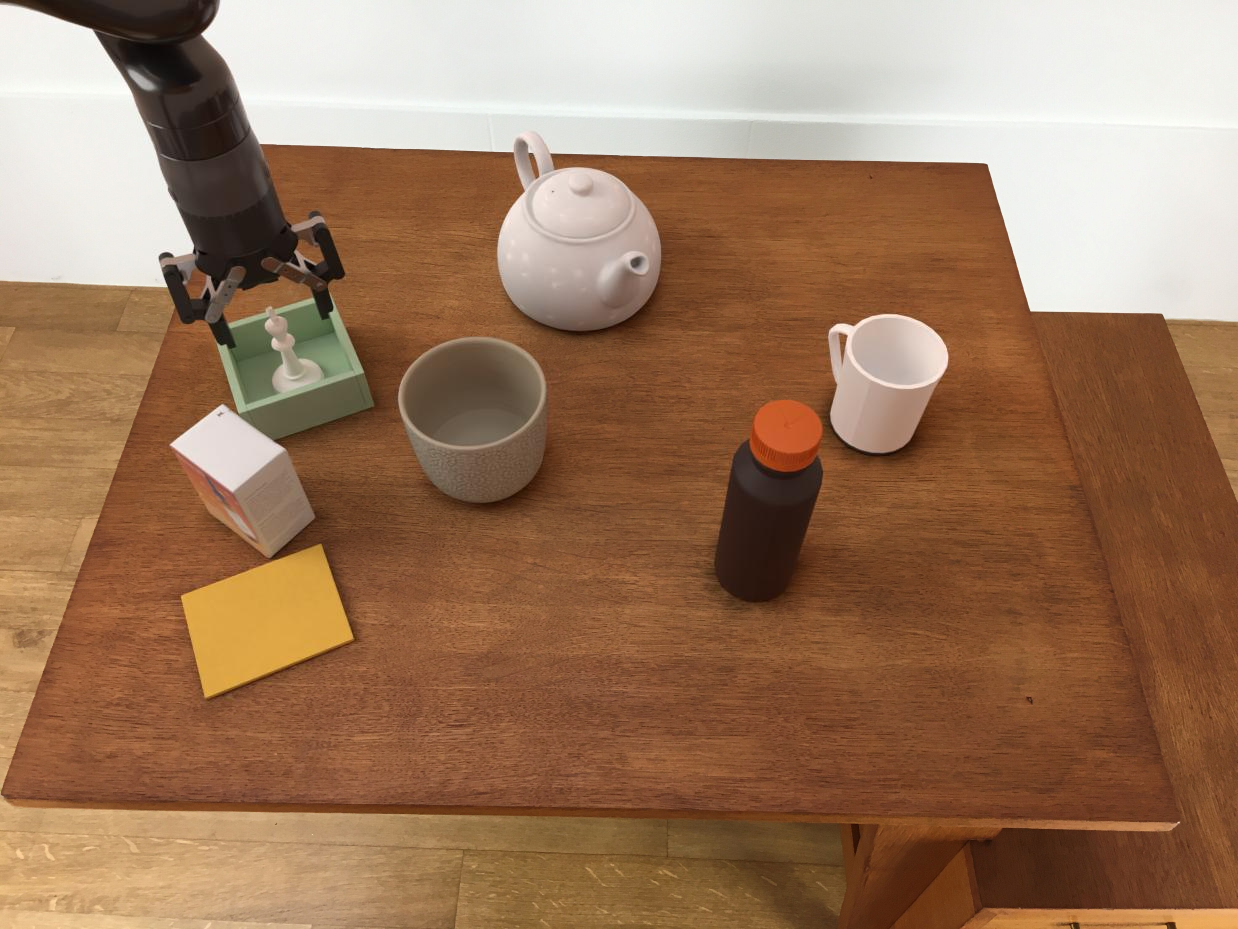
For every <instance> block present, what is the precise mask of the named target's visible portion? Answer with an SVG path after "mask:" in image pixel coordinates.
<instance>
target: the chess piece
mask: <svg viewBox="0 0 1238 929" xmlns="http://www.w3.org/2000/svg"><path fill="white" fill-rule="evenodd" d="M265 312H266V313H267V314H268V315H269V316H270V319H268V320H267V322H266V323H265V329H266V330H267V332H268V333H269V334H271V335H272V336H273V337H274V338H273V339H272V344H271V345H272V347H273V349H275V350H277V351H281V355H282V359H283V364H282V365H281V366H279V367H278V368H277V369H276V371H275V372H274V374H273V377H272V384H273V389H274V391H275V393H276V394H280V393H283V392H286V391H289V390H293V389H296V388H299V387H302V386H305V385H308V384H311V383H314V382H317V381H320V380H323V379H324V374H323V371H322V370H321V368H320V367H319V365H318V364H317V363H315V362H314V361H311V360H308V359H298V358H297V356H296V355H295V353H294V351H293V350H292V347H293V345H294V343H295V339H294V337H293V336H292V335H290V334H288V333H287V327H288V323H287V320H286V319H285V318H283V317H280V316H277V315H276V314H275V312H274V307H272V306H271V305H270V306H268V307H266V308H265Z"/></svg>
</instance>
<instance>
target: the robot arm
mask: <svg viewBox="0 0 1238 929" xmlns="http://www.w3.org/2000/svg"><path fill="white" fill-rule="evenodd" d="M220 5H221V0H0V6H9V7H15V8H21V9H25V10H29V11H33V12H36V13H40V14H43V15H46V16H49V17H52V18H55V19H58V20H59V21H64V22H67V23H70V24H72V25H77V26H80V27H83V28H86V29H89V30H92V31H93V33H94V35H95V36H96V39H97V40H98V41H99V43H100V45H101V46H102V48H103V49H104V51H105V52H106V54H107V56H108V57H109V59H110V61H112V63H113V64H114V66H115V68H116V69H117V71H118V72H119V73H120V75H121V77H122V78H123V80H124V82H125V83H126V85H127V87H128V88H129V91H130V92H131V94H132V98H133V101H134V104H135V107H136V109H137V111H138V113H139V116H140V118H141V120H142V122H143V125H144V127H145V130H146V132H147V134H148V136H149V138H150V140H151V143H152V145H153V148H154V151H155V154H156V157H157V161H158V165H159V168H160V171H161V172H160V173H161V174H162V177H163V180H164V182H165V183H166V186H167V192H168V195H169V196H170V197H171V199H172V200H173V202H174V204H175V206H176V208H177V211H178V213H179V215H180V217H181V220H182V222H183V224H184V226H185V228H186V229H185V230H186V231H187V233H188V235H189V237H190V240H191V242H192V245H193V249H192V252H191V253H187V254H182V255H179V256H175V255H174V254H173V253H171V252H170V251H164V252H161V253H160V254H159V255H158V263H159V266H160V269H161V273H162V276H163V280H164V282H165V284H166V287H167V289H168V292H169V295H170V297H171V300H172V302H173V304H174V307H175V310H176V312H177V314H178V316H179V320H180V321H181V323H182V324H184V325H191V324H194V323H195V322H196V321H204V322H206V323H207V324H208V328H210V331H211V333H212V335H213V337H214V340H215V339H216V340H215V343H216V342H217V343H218V344H219V345H221V346H222V345H227V347H228V349H232V348H235V347H236V344H235V341H234V338H233V335H232V332H231V330H230V327H229V325H228V323H229V322H228V321H227V318H226V316H225V314H224V311H225V308H226V306H229V305H230V304H231V302H232V299H233V297H234V295H235V294H236V291H237V290H238V289H239V290H240V289H241V290H242V292H245V291H248V290H252V289H254V288H255V287H257V286H259V285H265V284H272V283H276V282H279V281H280V280H279V278H280V277H284V278H286V279H287V280H290V281H291V282H293V283H295V284H296V285H297V284H298V285H301V284H303V285H305V286H306V287H308V288H309V289H310V291H311V296H312V298H314V301H315V304H316V307H317V309H318V312H319V314H320V317H321V319H322V321H323V320H326V319H329V315H328V313H330V312H333V308H334V306H333V303H332V300H331V297H330V293H331V292H330V291H329V284H330V283H331V282H332V281H333V280H335V281H340V280H342V279H344V277H345V276H346V272H345V269H344V266H343V264H342V260H341V258H340V255H339V253H338V250H337V248H336V245H335V242H334V239H333V237H332V234H331V232H330V229H329V227H328V225H327V223H326V221H325V218H324V216H323V214H322V212H321V211H319V210H312V211H311V212H309V213H308V215H307V219H308V220H305V221H304V220H303V221H302V222H298V223H295V224H291V223H290V222H289V221H287V219H286V217H285V214H284V211H283V208H282V205H281V202H280V199H279V195H278V193H277V191H276V188H275V184H274V181H273V179H272V175H271V168H270V165H269V164H268V161H267V160H266V158H265V155H264V152H263V148H262V147H261V143H260V142H259V140H258V137H257V135H256V134H255V132H254V130H253V128H252V126H251V124H250V120H249V117H248V114H247V112H246V108H245V106H244V103H243V100H242V97H241V94H240V91H239V88H238V86H237V83H236V82H237V81H236V80H235V77H234V75H233V73H232V71H231V69H230V67H229V65H228V63H227V62H226V60H225V59H224V57H223V56H222V55H221V54H220V52H219V51H218V50H216V48H215V47H214V46H213V45H211V43H210V42H209V41H208V40H207V39H206V38H205V37H204V35H203V33H204V32H206V31H207V30H208V28H209V27H210V26H211V25H212V24H213V22H214V21H215V20H216V17H217V15H218V13H219V10H220ZM300 240H301V241H302V240H304V241H306V242H307V244H308V245H310V246H311V247H314V248H319V250H320V252H321V254H322V257H323V260H321V261H320V262H318V263H316V262H314V261H312V260H310V259H309V258H307V257H305V256H304V255H302V254H301V252H300V251H298V250H297V247H298V245H299V241H300ZM194 270H198V271H199V272H201V273H202V274H204V275H206V277H205V278H206V279H205V286H204V287H203V290H202V292H201V294H200V296H199V298H191V296H190V295H189V291H188V289H187V287H186V286H187V285H189V282H190V281H191V280H192V273H193V272H194ZM217 343H216V344H217Z"/></svg>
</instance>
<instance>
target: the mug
mask: <svg viewBox="0 0 1238 929" xmlns="http://www.w3.org/2000/svg"><path fill="white" fill-rule="evenodd" d="M840 334H843V335H846V336H847V338H846V341H845V348H844V354H843V360H842V354H841V353H842V352H841V342H840ZM827 340H828V341H827V342H828V346H829V348H828V349H829V356H830V364H831V370H832V375H833V378H834V381H835V383H836V388H835V393H834V395H833V401H832V404H831V407H830V412H829V423H830V426H831V428H832V430H833V433H834V434H835V436H836V437H837V439H839V440H840V441H841V443H843V444H844V445H845V446H846V447H848V448H849V449H852V450H854V451H856V452H859V453H861V454H865V455H869V456H885V455H891V454H893V453H895V452H898V451H900V450H902V449H903V448H905V447H906V446H908V444H909V443H910V441H911V440H912V437H913V436H914V434H915V431H916V429H917V427H918V425H919V423H920V421H921V419H922V417H923V414H924V413H925V410H926V408H927V406H928V403H929V401H930V399H931V397H932V395H933V392H934V391H935V389H936V387H937V385H938V384H939V382H940V380H941V379H942V377H943V375H944V374H945V372H946V370H947V368H948V363H949V353H948V350H947V346H946V344H945V343H944V341H943V339H942V336H940V335H939V334H938V333H937V332H936V331H935V330H934V329H933V328H931V327H930V326H928V325H927V324H926V323H923V322H922V321H920V320H917V319H916V318H913V317H910V316H905V315H901V314H895V313H894V314H892V313H883V314H876V315H870V316H869V317H867V318H864V319H862V320H860V321H859V322H858V323H856V324H855V325H851V324H849V323H837V324H835V325H834V326H833V327H831V328H830V329H829V331H828V336H827Z"/></svg>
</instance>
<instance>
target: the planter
mask: <svg viewBox="0 0 1238 929" xmlns="http://www.w3.org/2000/svg"><path fill="white" fill-rule="evenodd" d="M397 401H398V408H399V409H398V410H399V412H400V415H401V419H402V422H403V425H404V429H405V431H406V434H407V438H408V439H409V441H410V444H411V446H412V448H413V452H414V453H415V456H416V459H417V460H418V462H419V464H420V466H421V468H422V470H423V472H424V473H425V475H426V476H427V478H428V479H429V481H430V482H431V483H432V484H433V486H435V487H436V488H437V489H438V490H440V491H441V492H442V493H444V494H445V495H447V496H448V497H451V498H453V499H455V500H459V501H461V502H462V501H463V502H466V503H472V504H473V503H474V504H486V503H488V504H489V503H493V502H498V501H501V500H505V499H507V498H509V497H511V496H513V495H515V494H517V493H518V492H520V491H521V490H522V489H524V488H525V487H526V486H527V485H528V484H529V483H530V482H531V481H532V480H533V479H534V477H535V476H536V474H537V472H538V471H539V470H540V466H541V465H542V462H543V460H544V459H543V458H544V455H545V448H546V443H547V432H548V431H547V430H548V405H549V404H548V387H547V380H546V376H545V374H544V371H543V369H542V367H541V365H540V364H539V362H538V361H537V360H536V359H535V357H533V356H532V355H531V354H530V353H529V352H528V351H527V350H525V349H523V348H522V347H520V346H518V345H517V344H515V343H513V342H511V341H507V340H504V339H502V338H501V339H500V338H497V337H490V336H467V337H460V338H455V339H451V340H448V341H445V342H443V343H440V344H438V345H435V346H434V347H432V348H430V349H429V350H427V351H425V352H424V353H422V354H421V355H420V356H419V357H417V358H416V359H415V360H414V361H413V362H412V363H411V364H410V366H409V367H408V369H407V370H406V372H405V373H404V375H403V377H402V379H401V382H400V385H399V388H398V394H397Z"/></svg>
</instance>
